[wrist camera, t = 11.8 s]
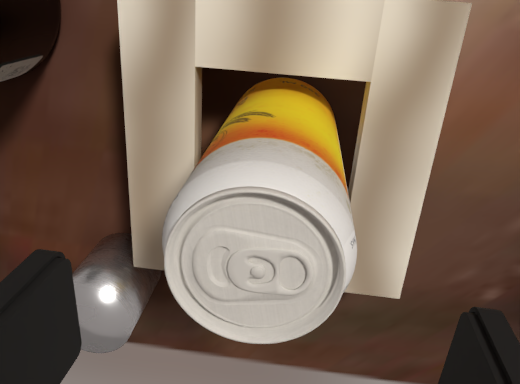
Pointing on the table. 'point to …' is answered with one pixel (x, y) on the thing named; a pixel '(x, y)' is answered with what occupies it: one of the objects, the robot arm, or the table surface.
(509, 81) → the table surface
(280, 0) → the birch stand
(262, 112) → the beer can
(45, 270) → the robot arm
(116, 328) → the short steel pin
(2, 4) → the ink bottle
